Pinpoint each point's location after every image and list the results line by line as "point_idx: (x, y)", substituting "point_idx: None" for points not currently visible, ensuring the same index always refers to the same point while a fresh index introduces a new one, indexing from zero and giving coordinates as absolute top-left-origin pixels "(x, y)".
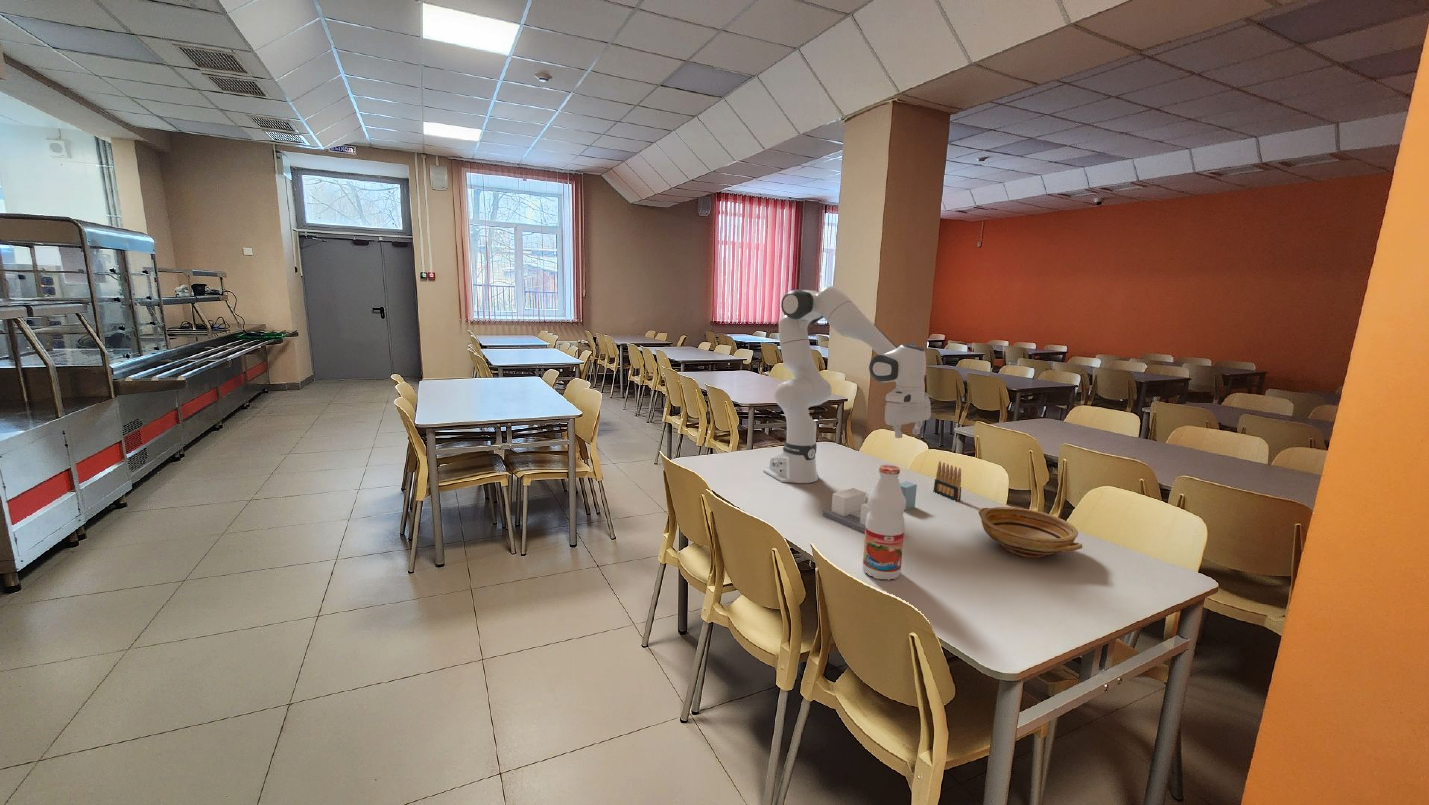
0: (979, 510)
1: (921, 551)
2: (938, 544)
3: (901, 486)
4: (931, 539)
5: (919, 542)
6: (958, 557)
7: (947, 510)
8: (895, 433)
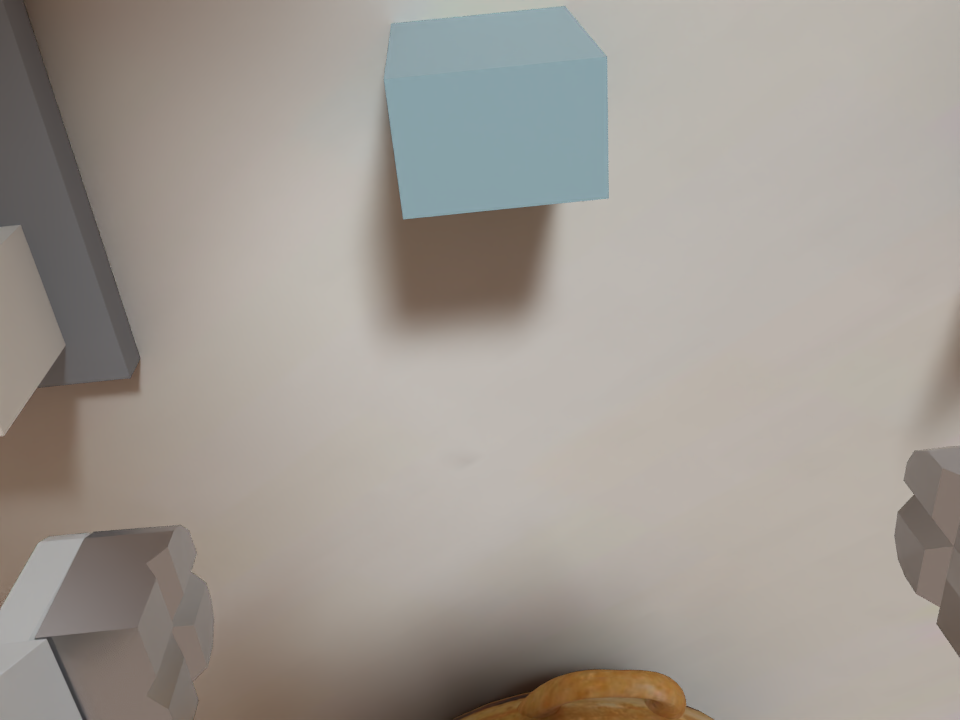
0: (571, 690)
1: None
2: None
3: (395, 160)
4: None
5: None
6: None
7: (735, 294)
8: (5, 620)
